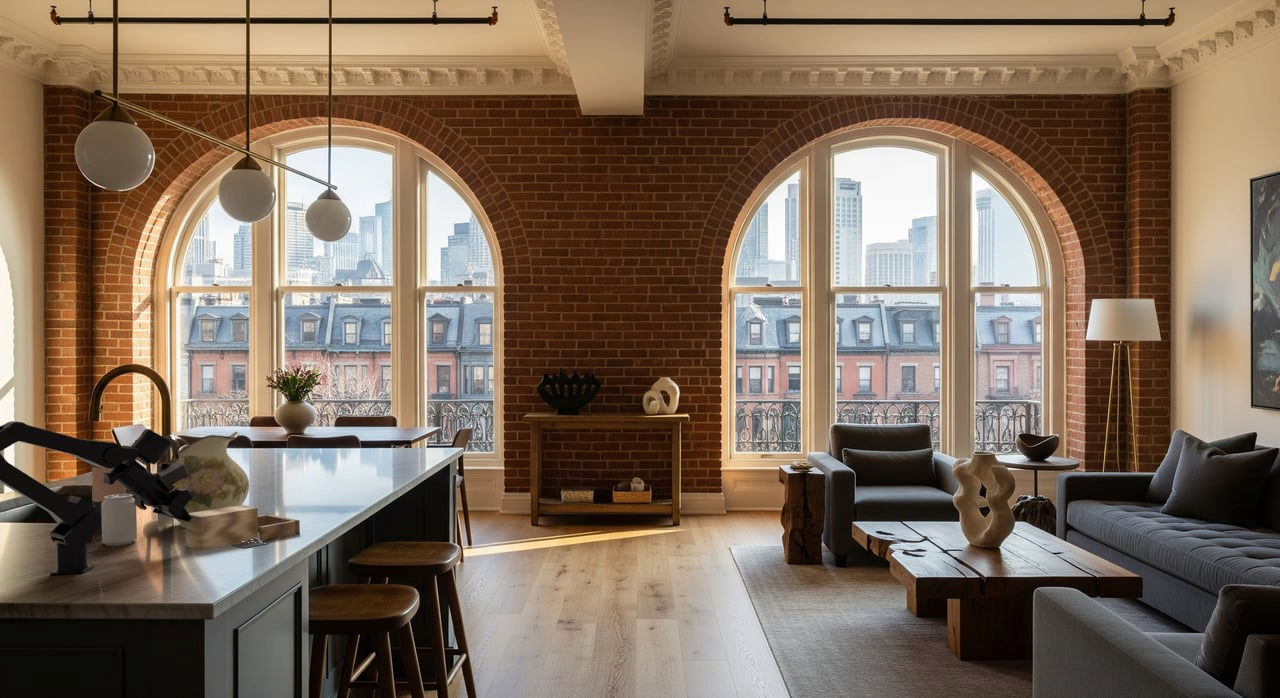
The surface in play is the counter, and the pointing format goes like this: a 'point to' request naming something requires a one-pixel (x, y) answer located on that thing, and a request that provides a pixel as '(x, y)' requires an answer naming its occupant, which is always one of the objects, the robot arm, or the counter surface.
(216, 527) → the oak block
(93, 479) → the travel mug
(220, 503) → the pitcher
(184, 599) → the counter surface
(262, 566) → the counter surface
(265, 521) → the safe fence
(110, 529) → the can
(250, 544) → the plate
